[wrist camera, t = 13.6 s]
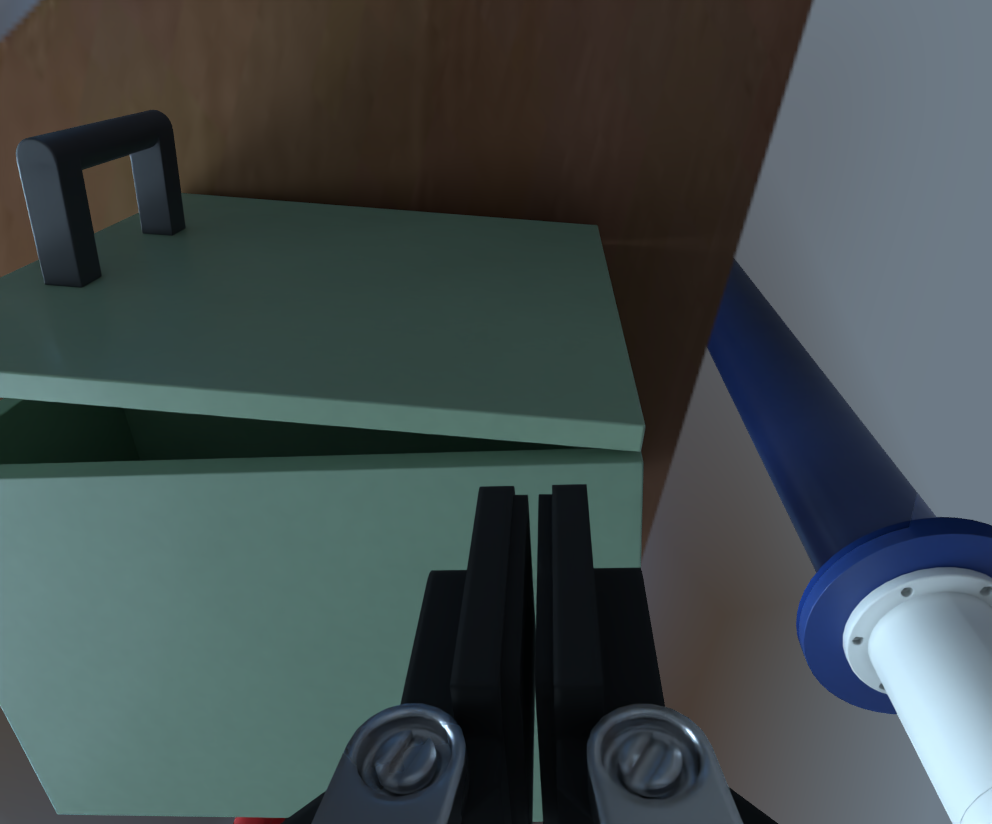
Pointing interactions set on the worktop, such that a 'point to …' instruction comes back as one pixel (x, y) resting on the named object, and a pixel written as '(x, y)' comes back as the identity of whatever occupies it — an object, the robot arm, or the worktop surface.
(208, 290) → the cupboard door
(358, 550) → the cupboard
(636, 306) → the worktop surface
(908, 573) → the robot arm
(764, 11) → the worktop surface
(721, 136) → the worktop surface
